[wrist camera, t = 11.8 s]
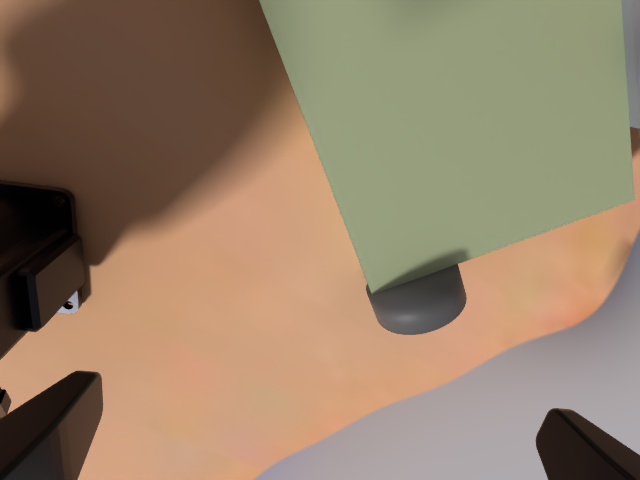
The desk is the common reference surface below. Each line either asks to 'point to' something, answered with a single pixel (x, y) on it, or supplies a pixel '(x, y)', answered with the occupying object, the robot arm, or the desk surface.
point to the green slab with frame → (461, 128)
